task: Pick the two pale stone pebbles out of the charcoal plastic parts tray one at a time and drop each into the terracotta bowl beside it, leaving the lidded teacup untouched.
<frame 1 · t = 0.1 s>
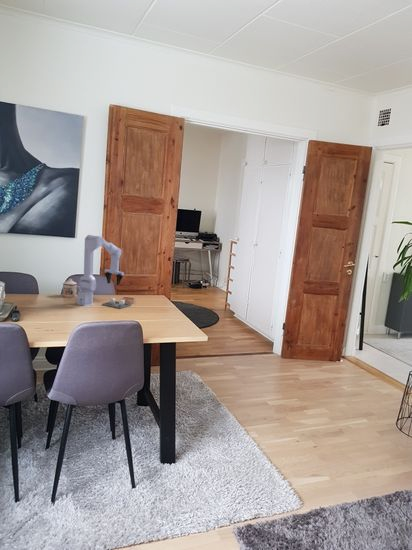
hand: (113, 284, 292), 10 cm above the table, fingers open, 7 cm apart
bowl: (127, 303, 283), on the table
stone pebble far: (121, 306, 270), resting on parts tray
stone pebble near: (112, 304, 273), resting on parts tray
parts tray: (116, 306, 271), on the table
teacup with lid: (71, 296, 287), on the table
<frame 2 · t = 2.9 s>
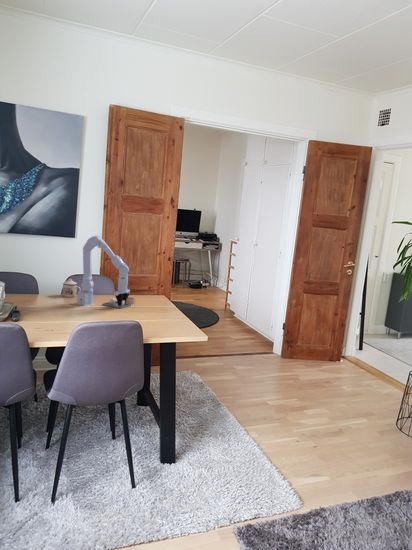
hand: (121, 305, 270), 1 cm above the table, fingers closed on stone pebble far, 4 cm apart
stone pebble far: (121, 306, 270), resting on parts tray, touching gripper
everything else where it was.
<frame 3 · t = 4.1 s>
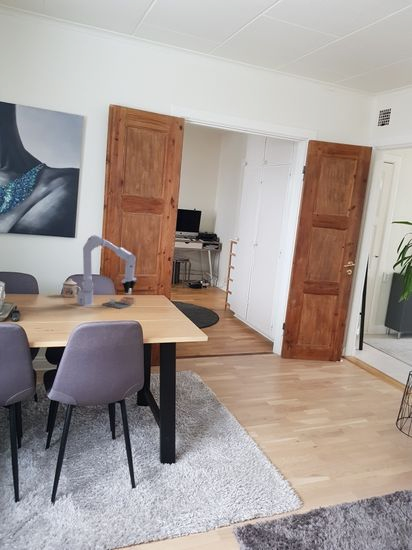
hand: (128, 292, 278), 8 cm above the table, fingers closed on stone pebble far, 4 cm apart
stone pebble far: (128, 294, 278), point 7 cm above the table, touching gripper
everything else where it was.
when the fingers open (4 cm above the table, at t = 5.4 s): stone pebble far drops 2 cm, resting on bowl.
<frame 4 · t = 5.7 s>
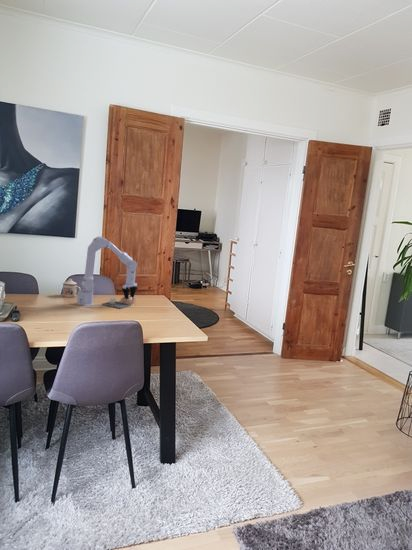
hand: (129, 297, 281), 4 cm above the table, fingers open, 6 cm apart
stone pebble far: (128, 302, 281), point 1 cm above the table, touching bowl
everything else where it was.
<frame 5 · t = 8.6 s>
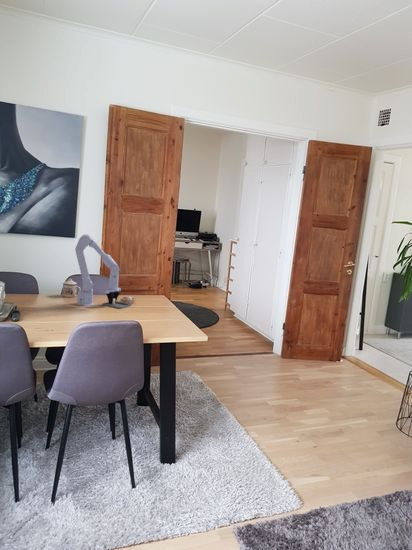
hand: (112, 303, 272), 1 cm above the table, fingers closed on stone pebble near, 4 cm apart
stone pebble near: (112, 304, 273), resting on parts tray, touching gripper
everything else where it was.
when the fingers open (4 cm above the table, at t = 11.3 s): stone pebble near drops 2 cm, resting on bowl.
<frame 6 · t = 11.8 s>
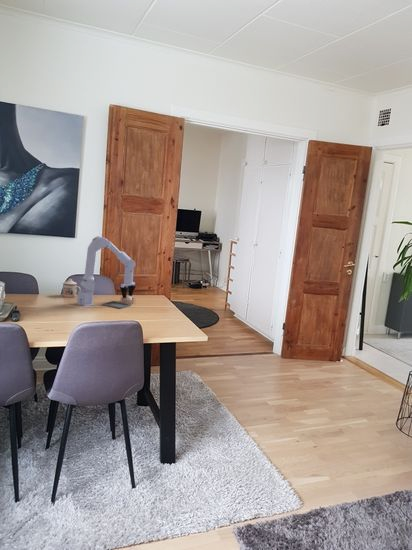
hand: (127, 296, 284), 4 cm above the table, fingers open, 7 cm apart
stone pebble near: (127, 301, 285), point 1 cm above the table, touching bowl
everything else where it was.
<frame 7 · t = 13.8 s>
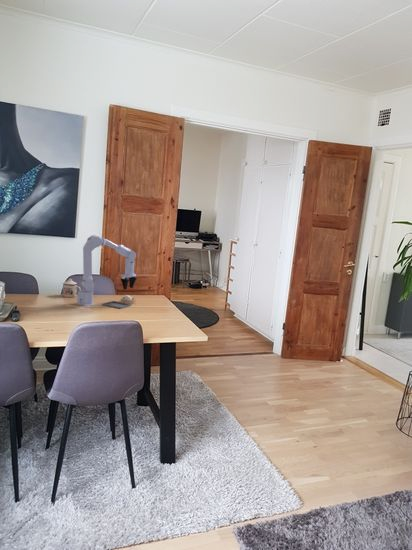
hand: (128, 288, 281), 10 cm above the table, fingers open, 7 cm apart
nothing on the table moved.
at the end: stone pebble far inside the target area on the bowl (2.1 cm from its centre), point 0.6 cm above the bowl's base; stone pebble near inside the target area on the bowl (1.9 cm from its centre), point 0.6 cm above the bowl's base; teacup with lid moved 0.2 cm from its start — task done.
